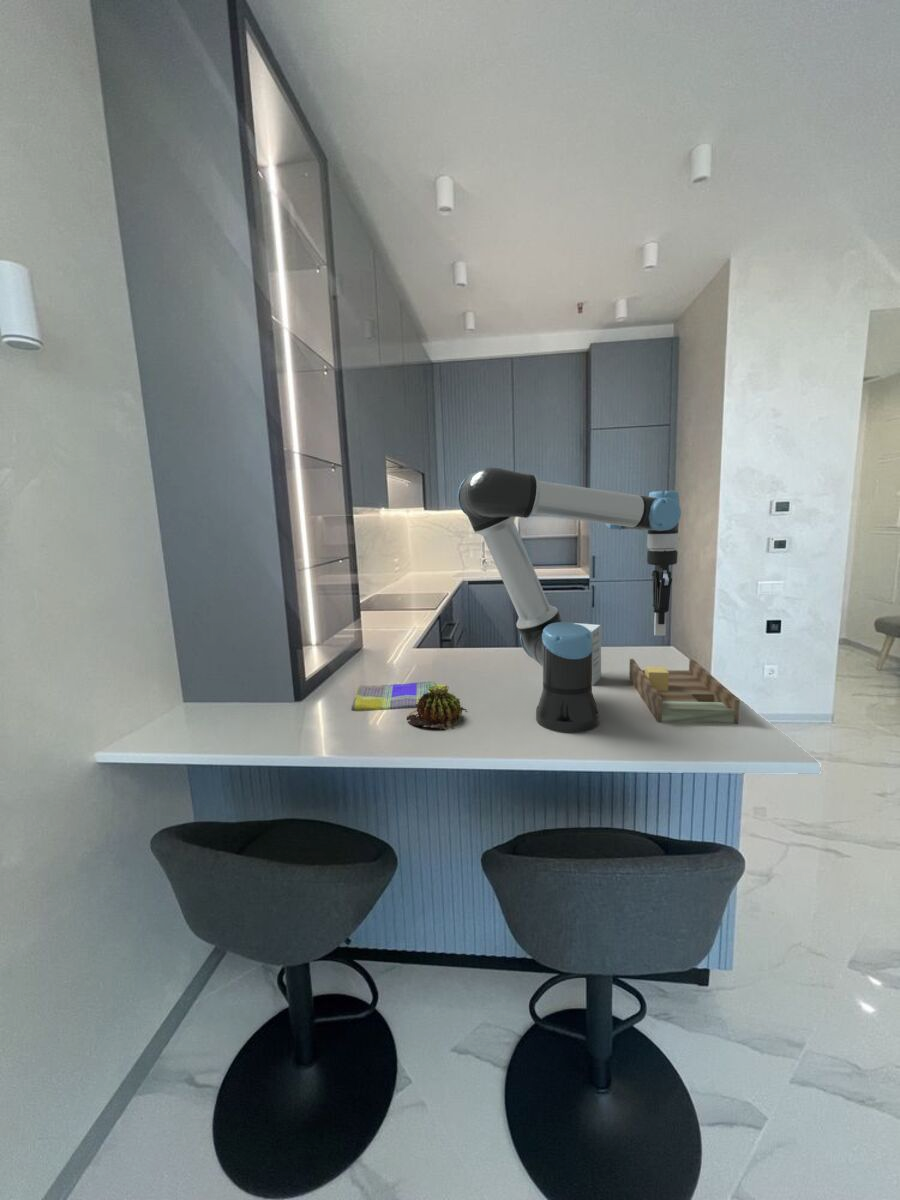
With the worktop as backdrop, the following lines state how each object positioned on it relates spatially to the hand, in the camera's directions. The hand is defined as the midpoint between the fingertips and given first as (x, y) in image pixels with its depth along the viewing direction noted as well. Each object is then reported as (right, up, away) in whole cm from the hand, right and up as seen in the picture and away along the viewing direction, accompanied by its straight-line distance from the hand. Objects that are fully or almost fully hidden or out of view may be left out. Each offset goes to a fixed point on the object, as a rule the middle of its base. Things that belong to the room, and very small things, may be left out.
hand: (659, 634), depth 139 cm
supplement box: (-18, -15, +15) cm, 28 cm away
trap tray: (+3, -17, -4) cm, 18 cm away
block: (-2, -14, -2) cm, 14 cm away
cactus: (-61, -21, -10) cm, 65 cm away
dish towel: (-73, -19, +5) cm, 76 cm away
